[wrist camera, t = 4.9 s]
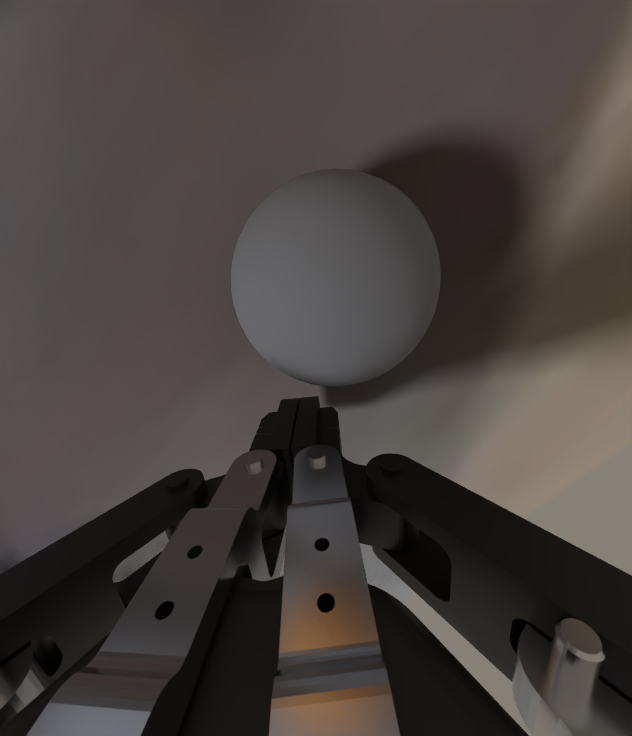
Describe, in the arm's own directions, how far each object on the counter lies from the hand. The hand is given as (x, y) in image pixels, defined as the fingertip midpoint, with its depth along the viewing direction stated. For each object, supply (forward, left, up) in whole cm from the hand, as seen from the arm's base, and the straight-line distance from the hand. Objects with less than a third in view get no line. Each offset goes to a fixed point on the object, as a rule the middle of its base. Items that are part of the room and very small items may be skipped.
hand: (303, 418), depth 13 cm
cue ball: (-4, +4, +2) cm, 6 cm away
